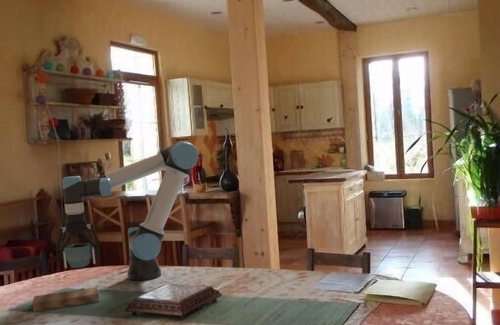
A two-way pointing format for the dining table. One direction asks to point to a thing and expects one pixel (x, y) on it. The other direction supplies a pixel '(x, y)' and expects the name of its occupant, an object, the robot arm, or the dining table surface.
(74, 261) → the flower pot
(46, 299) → the walnut board
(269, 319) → the dining table surface
